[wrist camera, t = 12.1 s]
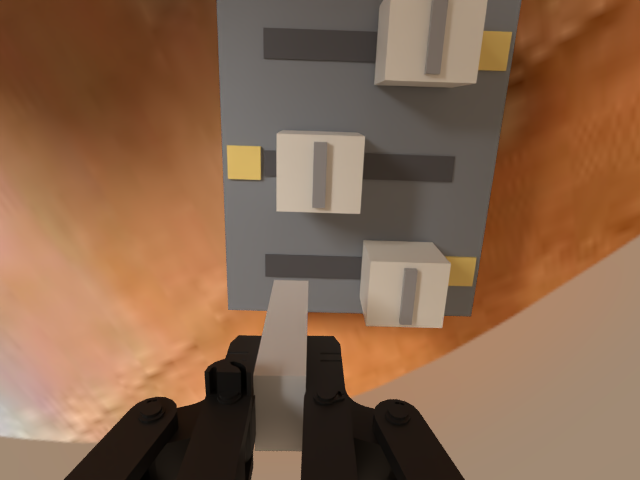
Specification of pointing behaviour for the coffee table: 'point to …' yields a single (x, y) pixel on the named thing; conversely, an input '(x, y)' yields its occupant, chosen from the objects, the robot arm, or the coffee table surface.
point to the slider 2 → (429, 42)
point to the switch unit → (379, 151)
